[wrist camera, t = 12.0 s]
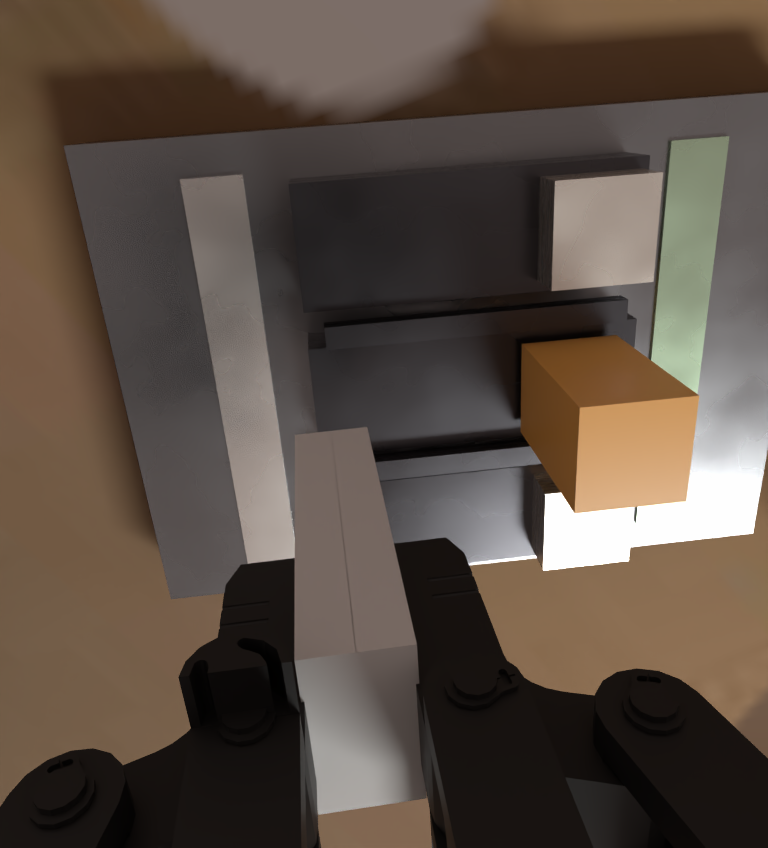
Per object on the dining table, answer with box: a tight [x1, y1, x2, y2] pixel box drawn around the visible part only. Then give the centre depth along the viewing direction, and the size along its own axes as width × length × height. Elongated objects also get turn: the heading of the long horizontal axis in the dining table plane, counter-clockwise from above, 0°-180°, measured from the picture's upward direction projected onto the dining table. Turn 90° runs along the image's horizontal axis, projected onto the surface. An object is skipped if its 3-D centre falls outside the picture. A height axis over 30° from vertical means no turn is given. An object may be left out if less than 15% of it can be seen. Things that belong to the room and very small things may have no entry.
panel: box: [64, 91, 768, 599], centre depth 21 cm, size 20×14×5 cm
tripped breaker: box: [521, 335, 699, 514], centre depth 17 cm, size 3×3×4 cm
